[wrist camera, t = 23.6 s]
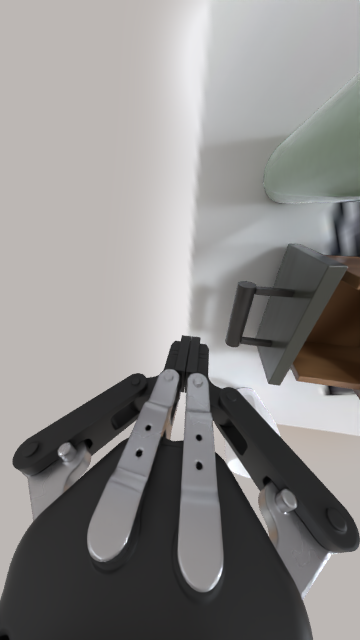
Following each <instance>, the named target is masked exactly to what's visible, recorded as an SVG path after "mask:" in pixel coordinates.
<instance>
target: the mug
mask: <svg viewBox="0 0 360 640" xmlns="http://www.w3.org/2000/svg"><path fill="white" fill-rule="evenodd" d="M237 391H239V392H240V393H241V395H242V396H243V397H244V398H245V399H246V400H247V401H248V402H249V403H250V404H251V405H252V407H253V408H254V409H255V410H256V411H257V412H258V413H259V414H260V415H261V416H262V418H263V419H264V420H265V421H266V422H267V423H268V424H269V425H270V426H271V427H272V428H273V430H274V431H275V432H276V433H277V434H278V435H279V436H280V433H279V430H278V428H277V425H276V423H275V421H274V419H273V418H272V416H271V414H270V413H269V411H268V410H267V408H266V407H265V405H264V404H263V402H262V401H261V399H260V398H259V396H258V395H257V393H256V392H255V391H254V390H252V389H250V388H239V389H237ZM280 437H281V436H280ZM225 458H226V464H227V465H228V467H229V469H230V470H231V471H233V472H235V473H236V474H239V475H241V476H244V477H248V478H251V477H250V475H249V474H248V472H247V471H246V469H245V468H244V466H243V465H242V463H241V462H240V460H239V459H238V457H237V456H236V454H235V453H234V451H233V450H232V448H231V447H230V445H229V444H228V442H227V441H226V440H225Z"/></svg>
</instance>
